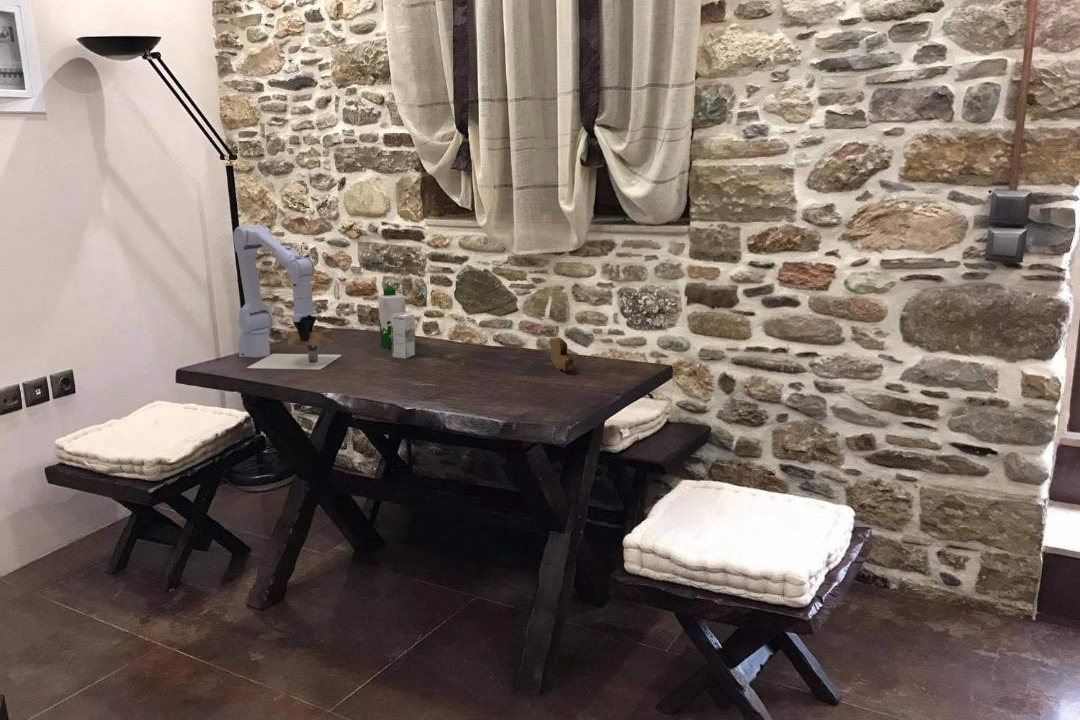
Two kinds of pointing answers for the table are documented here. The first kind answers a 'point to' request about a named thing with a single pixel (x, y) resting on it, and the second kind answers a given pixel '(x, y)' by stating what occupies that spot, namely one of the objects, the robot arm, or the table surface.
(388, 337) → the milk carton
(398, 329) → the syrup box
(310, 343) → the square collar
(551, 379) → the table surface
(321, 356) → the post board
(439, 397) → the table surface
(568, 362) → the wooden carving
